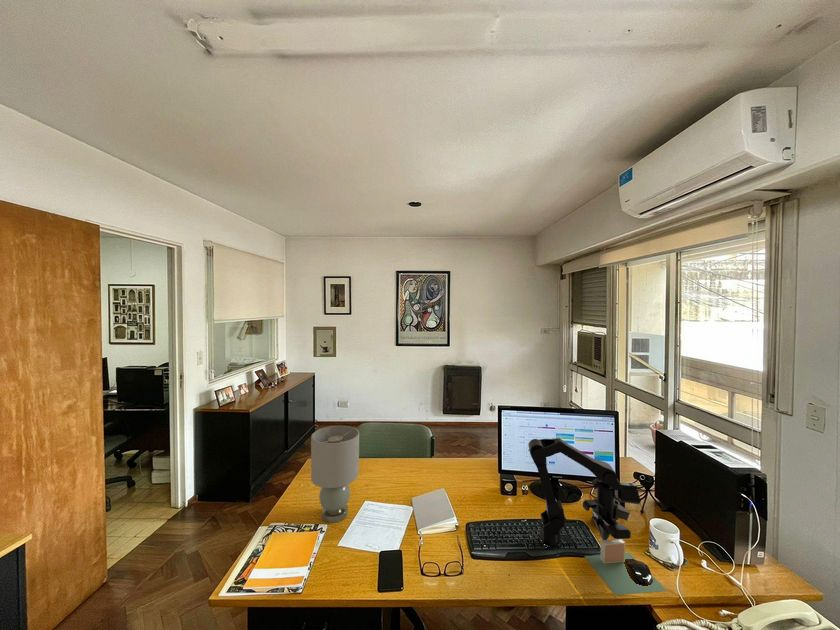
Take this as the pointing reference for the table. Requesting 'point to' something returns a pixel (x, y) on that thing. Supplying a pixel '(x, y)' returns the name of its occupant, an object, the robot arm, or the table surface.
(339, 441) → the lamp
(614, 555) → the block
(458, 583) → the table surface
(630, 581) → the mat
